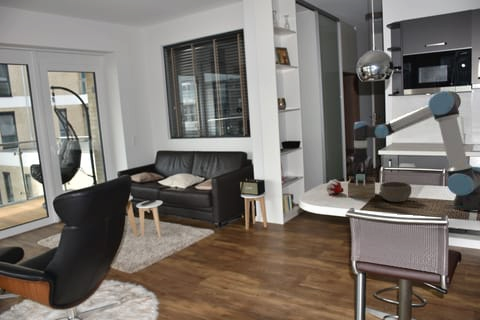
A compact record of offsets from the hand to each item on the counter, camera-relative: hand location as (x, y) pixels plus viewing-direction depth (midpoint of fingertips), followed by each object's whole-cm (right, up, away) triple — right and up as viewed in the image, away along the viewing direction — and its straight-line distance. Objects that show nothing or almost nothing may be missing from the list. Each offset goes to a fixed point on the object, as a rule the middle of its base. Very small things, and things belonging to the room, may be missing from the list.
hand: (360, 185), depth 242 cm
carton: (+4, -7, +12) cm, 15 cm away
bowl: (+19, -9, -5) cm, 22 cm away
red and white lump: (-11, -7, +18) cm, 23 cm away
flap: (+3, +2, +7) cm, 8 cm away
